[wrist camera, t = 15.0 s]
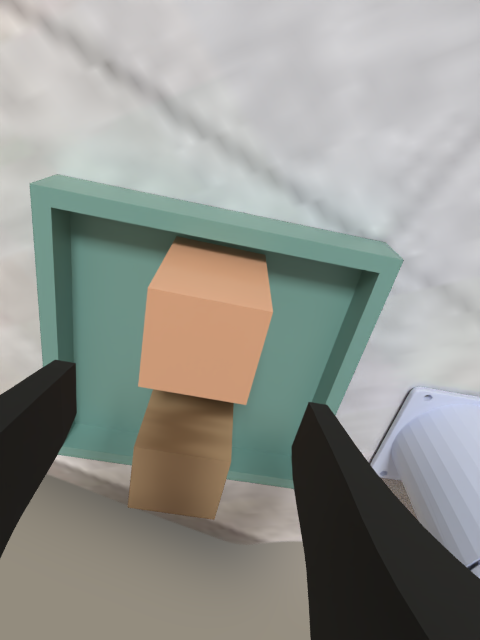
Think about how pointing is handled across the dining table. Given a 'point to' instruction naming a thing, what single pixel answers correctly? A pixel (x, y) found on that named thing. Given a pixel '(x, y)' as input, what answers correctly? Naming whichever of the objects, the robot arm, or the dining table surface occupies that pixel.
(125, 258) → the tray
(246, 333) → the terracotta block
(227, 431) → the walnut block
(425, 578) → the robot arm
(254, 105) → the dining table surface
